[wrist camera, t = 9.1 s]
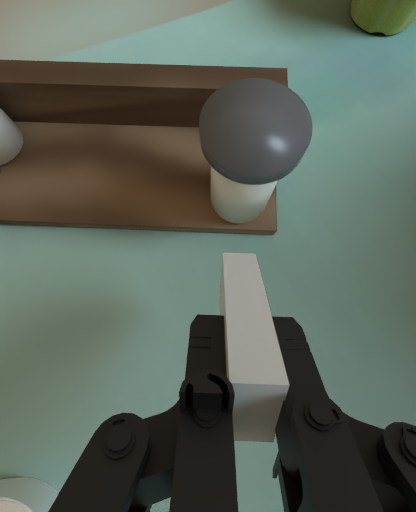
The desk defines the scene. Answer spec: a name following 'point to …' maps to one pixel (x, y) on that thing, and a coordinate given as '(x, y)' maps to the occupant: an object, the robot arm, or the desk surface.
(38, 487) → the computer
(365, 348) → the desk surface
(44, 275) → the desk surface
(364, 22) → the plant pot
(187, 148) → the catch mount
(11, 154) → the knob
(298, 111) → the knob
